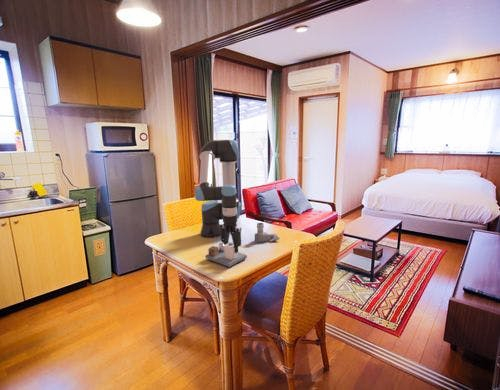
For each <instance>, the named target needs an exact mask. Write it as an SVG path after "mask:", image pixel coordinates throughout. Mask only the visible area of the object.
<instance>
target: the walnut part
mask: <svg viewBox="0 0 500 390" xmlns="http://www.w3.org/2000/svg"><path fill="white" fill-rule="evenodd" d="M207 252H208V254H209V256H214V257H215V256H217V255H218V254H219V246H215V245H213V246H210V247H208V249H207Z"/></svg>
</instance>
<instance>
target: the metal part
mask: <svg viewBox="0 0 500 390" xmlns="http://www.w3.org/2000/svg"><path fill="white" fill-rule="evenodd" d="M218 247H219V252H225V251H224V243H223V242H220V243H219V244H218Z"/></svg>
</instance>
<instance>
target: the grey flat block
mask: <svg viewBox="0 0 500 390" xmlns="http://www.w3.org/2000/svg"><path fill="white" fill-rule="evenodd" d="M204 257H205V259H207V261H213V262H215V263H218V264H219V265H220V264H221V265H223V266H226V267H227V268H228V269H229V268H232V266H234V265H235V264H237V263H241V261H245V260H246V259H247V258H248V255H247V254H245V253H241V252H239V251H238V257H237V258H235V259H232V260H230V259H227V258H225V252H219V254H218V255H217V256H215V257H214V256H209V253H208V254H206V255H205V256H204Z"/></svg>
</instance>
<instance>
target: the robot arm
mask: <svg viewBox="0 0 500 390" xmlns="http://www.w3.org/2000/svg"><path fill="white" fill-rule="evenodd" d="M198 158H199V159H200V169H199V183H198V184H199V186H197V187H195V188H194V198H195V200H196V201H197V202H203V203H202V205H201V210H200V211H201V219H202V220H201V221H202V225H201V229H200V231H199V232H200V237H203V238H207V239H212V238H213V239H214V238H219V237H220V243H224V245H226V244H228V243H230V241H229V240H230V236H231V239H232V243H233V245H234V246H233V259H235V258H237V257H238V254H237V252H239V247H241V246H242V235H241V233H242V227H238V224H237V222H238V219H239V218H240V216H241V205H242V202H241V201H239V199H238V198H237V192H238V191H237V187H236V185H237V184H236V183H237V182H236V181H237V180H236V163H237V162H238V159H239V158H240V153H239V146H238V142H237V140H235V139H217V140H215V139H214V140H210V141H207V142H206V143H205V144H204V145H203V146H202V148H201V149H200V152H199V157H198ZM215 159H218V160H219V163H220V164H221V168H222V186H214V162H215ZM219 201H220V202H219ZM221 220H222V223H221V224H220V221H221Z"/></svg>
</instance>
